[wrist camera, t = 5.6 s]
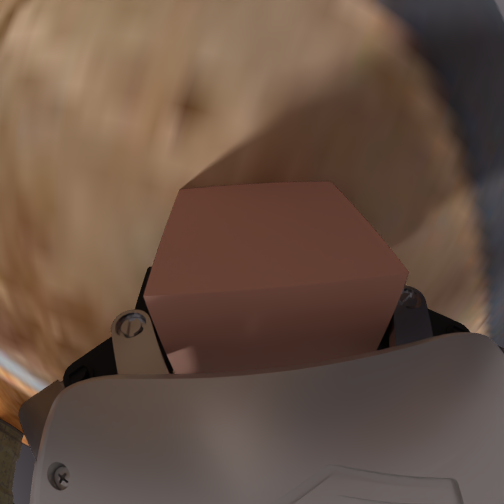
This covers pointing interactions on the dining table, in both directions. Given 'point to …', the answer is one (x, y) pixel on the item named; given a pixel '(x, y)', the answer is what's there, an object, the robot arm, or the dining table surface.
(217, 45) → the dining table surface
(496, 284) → the dining table surface
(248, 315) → the rust cube
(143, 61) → the dining table surface
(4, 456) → the thermos
